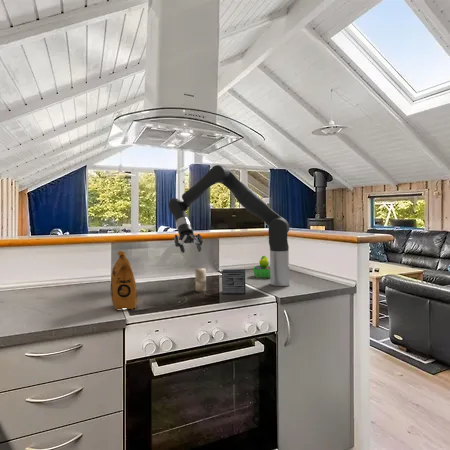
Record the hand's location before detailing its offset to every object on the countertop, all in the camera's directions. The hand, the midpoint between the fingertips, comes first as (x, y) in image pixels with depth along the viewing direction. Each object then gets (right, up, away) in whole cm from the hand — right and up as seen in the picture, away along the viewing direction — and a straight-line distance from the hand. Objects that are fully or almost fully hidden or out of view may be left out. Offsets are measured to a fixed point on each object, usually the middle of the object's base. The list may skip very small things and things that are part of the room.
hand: (191, 251), depth 162 cm
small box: (+21, -18, -15) cm, 31 cm away
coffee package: (-24, -20, -33) cm, 45 cm away
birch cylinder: (+5, -18, -10) cm, 21 cm away
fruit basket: (+39, -16, +19) cm, 46 cm away
